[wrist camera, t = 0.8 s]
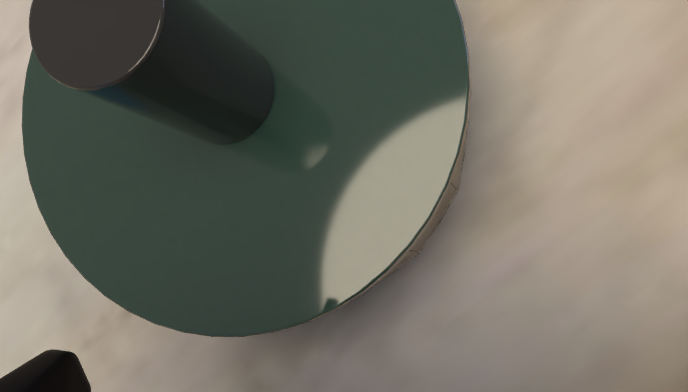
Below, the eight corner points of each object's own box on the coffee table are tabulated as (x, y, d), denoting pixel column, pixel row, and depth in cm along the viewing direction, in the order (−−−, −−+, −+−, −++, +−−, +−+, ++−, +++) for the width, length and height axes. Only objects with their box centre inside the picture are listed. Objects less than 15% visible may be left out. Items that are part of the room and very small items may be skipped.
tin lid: (528, 276, 17) (541, 284, 10) (82, 372, 20) (-148, 431, 13) (408, -179, 19) (350, -433, 12) (21, -31, 22) (-204, -167, 15)
